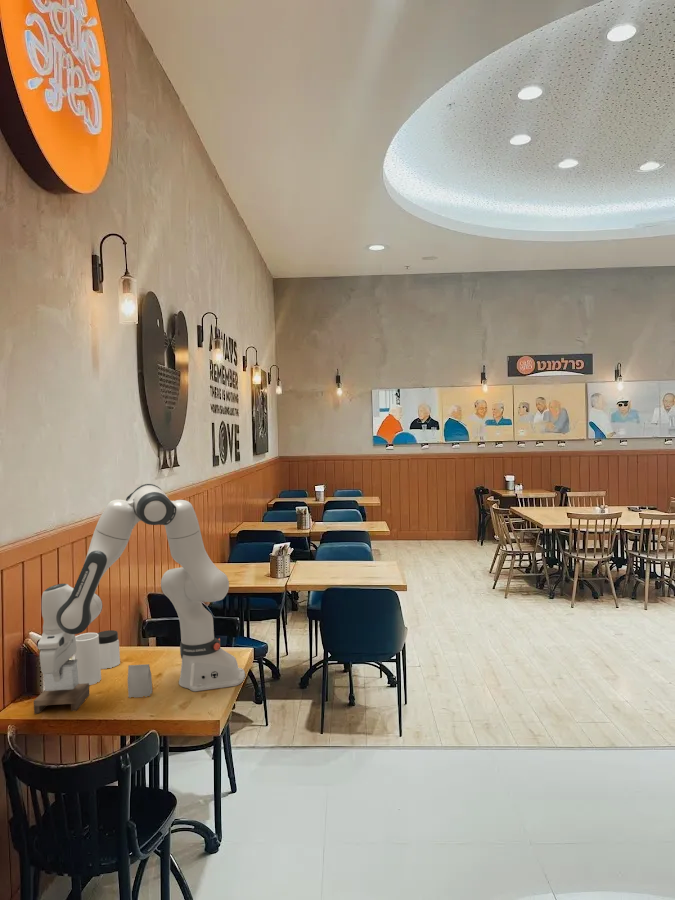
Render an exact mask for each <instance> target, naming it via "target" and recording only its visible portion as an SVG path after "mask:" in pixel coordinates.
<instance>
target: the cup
mask: <svg viewBox="0 0 675 900" xmlns="http://www.w3.org/2000/svg"><path fill="white" fill-rule="evenodd" d="M97 633H98V632H85V633H79V634H76V635H75V639H76V647H77V649H76V653H75V654H74V660H76V659H77V668H78V683H79V684H84V683H89V686H91V685H95V684H97V682H98V683H100V682H101V681H100V680H102V669H101V666H100V650H99V635H98V634H97Z"/></svg>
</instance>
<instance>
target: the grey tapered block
mask: <svg viewBox="0 0 675 900" xmlns="http://www.w3.org/2000/svg"><path fill="white" fill-rule="evenodd" d="M152 678H153V677H152V672H151V667H150V664H132V665H131V664H130V665H128V670H127V693H128V698H129V699H131V697H134V698H148V697H147V696H149V697H151V695H152V694H153V681H152V680H153V679H152ZM150 694H151V695H150ZM143 696H145V697H143Z"/></svg>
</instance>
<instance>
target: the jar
mask: <svg viewBox="0 0 675 900" xmlns="http://www.w3.org/2000/svg"><path fill="white" fill-rule="evenodd" d="M118 632H119V631H117V630H109V629H108V630H103V631H99V632H96V633H97V634H98V635H99V650H100V666H101V670H108V669H107V668H110V669H112V667H113V668H115V667H117V666H119V664H120V665H121V655H120V653H121V651H120V640H119V633H118Z"/></svg>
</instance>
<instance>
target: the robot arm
mask: <svg viewBox="0 0 675 900" xmlns="http://www.w3.org/2000/svg"><path fill="white" fill-rule="evenodd" d="M139 522H143V523H144V524H147V525H151V526H164V529H165V534H166V538H167V542H168V547H169V552H170V556H171V558H172V559H173V561H175V562H176V563H177V564H178V565H180V566H181V567H175V568H174V567H173V568H169V569H168V570H166V571H164V573H163V575H162V577H161V580H160V588H161V591H162V593H163V594H164V595H165V596H166V597H167V599H169V601H170V602H171V603H172V605H173V607H174V609H175V611H176V613H177V616H178V621H179V628H180V639H181V641H180V642H179V643H180V645H179V650H180V654H179V655H180V658H181V668H180V674H179V679H178V684H179V686H180V687H182V688H185V689H189V690H190V691H191V692H201V691H207V690H215V689H221V688H222V689H223V688H229V687H235V686H239V685H241V683H242V682H244V680H245V678H246V672H245V669H244V668H241V667H239V665H238V661H237V658H236V657H235V656H234V655H232V654H231V653H229V652H228V651H226V650H224V649H223V648H221V638H220V637H219V638H216V637H215V631H214V630H215V629H214V618H213V617H214V616H213V615H212V613H211V612H210V611H209V610H207V608H205V606H204V605H203V603H213V602H219V601H222V600H224V599H225V597H226V596H227V595H228V593H229V589H230V582H229V578H228V575H227V574H226V573H225V572H224V571H222V570H221V569H219V568H218V567H217V565H215V563H214V562H213V561H212V560H211V558H210V556H209V555H208V552H207V551H206V548H205V545H204V541H203V537H202V532H201V528H200V524H199V520H198V516H197V513H196V511H195V508H194V506H193V504H192V503H191V502H190V501H188V500H185V499H176V500H171V499H170V498H169V497H168V496H167V494H166V493H165V491H163V490H162V489H161V487H159V486H158V485H155V484H153V483H145V484H141V485H140V486H138V487H137V488H136V489H135V490H134V491H133V492H131V493H130V494H129V495H128V496H127V497H126V498H125V499H120V498H119V499H113V500H111V501H109V502H108V503H107V504H106V506H105V508H104V509H103V511H102V513H101V514H100V517H99V518H98V521H97V524H96V525H95V528H94V531H93V534H92V537H91V539H90V543H89V547H88V550H87V554H86V557H85V560H84V563H83V565H82V568H81V571H80V572H79V575H78V578H77V580H76V582H75V584H74V587H72V586H70V585H69V584H68V583H58V584H54V585H52V586H49V587H48V588H46V589H45V590H43V592H42V595H41V617H42V619H43V624H42V634H41V637H40V639H39V640H38V642H37V649H38V650H39V663H40V671H41V672H42V674H43V675H44V674H52V675H53V676H54V682H59V681H60V680H61V674H60V673H59V670H60V667H61V666H62V665H63V664H64V663H65V662H66V661H67V660H70V659H71V658H72V657H73V656H75V653H76V649H77V647H76V639H75V636H76V635H80V634H82V633H83V632H85V630H87V629H88V627H89V626H90V624H92V622H94V620H96V618H97V617H99V615H101V613H102V611H103V607H104V606H103V601H102V598H101V597H100V596H99V594H97V593H96V591H97V588H98V586H99V584H100V583H101V582H100V581H101V579H102V577H104V575H105V573H106V572H107V571H108V570H109V568H110V567H112V565H114V564H115V563H116V562H117V561H118V559H120V557H121V556H122V554H123V553H124V551H125V549H126V547H127V545H128V544H129V541H130V538H131V536H132V532H133V529H135V526H136V525H137V524H138V523H139ZM202 602H203V603H202Z"/></svg>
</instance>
